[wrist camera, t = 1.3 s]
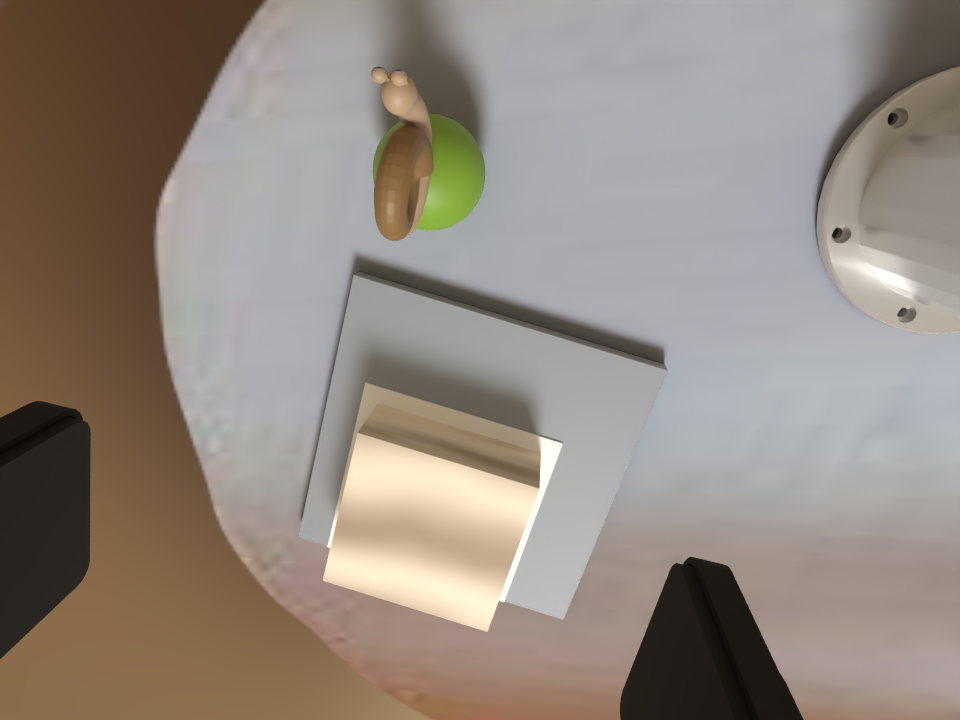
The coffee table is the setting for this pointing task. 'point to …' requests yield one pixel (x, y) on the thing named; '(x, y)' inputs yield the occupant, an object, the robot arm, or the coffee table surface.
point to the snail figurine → (422, 164)
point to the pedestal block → (432, 516)
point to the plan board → (490, 416)
